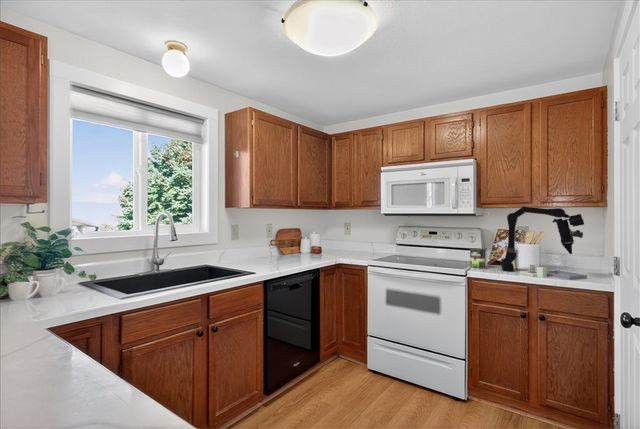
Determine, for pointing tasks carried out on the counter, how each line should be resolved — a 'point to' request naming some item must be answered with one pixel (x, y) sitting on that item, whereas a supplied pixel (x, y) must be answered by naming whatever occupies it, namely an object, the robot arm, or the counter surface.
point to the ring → (540, 272)
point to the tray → (570, 277)
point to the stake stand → (531, 270)
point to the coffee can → (478, 258)
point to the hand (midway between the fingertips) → (571, 253)
